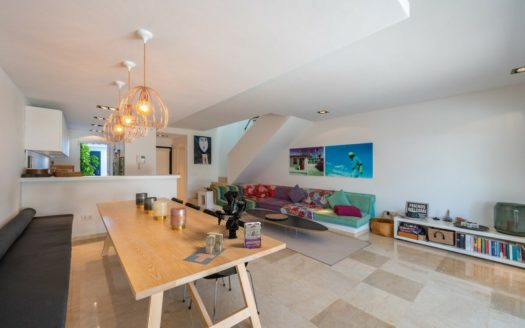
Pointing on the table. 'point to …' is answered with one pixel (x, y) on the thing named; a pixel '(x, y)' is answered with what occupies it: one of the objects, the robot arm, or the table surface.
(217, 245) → the maple T block
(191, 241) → the table surface
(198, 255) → the slate board
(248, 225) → the candy bar box
